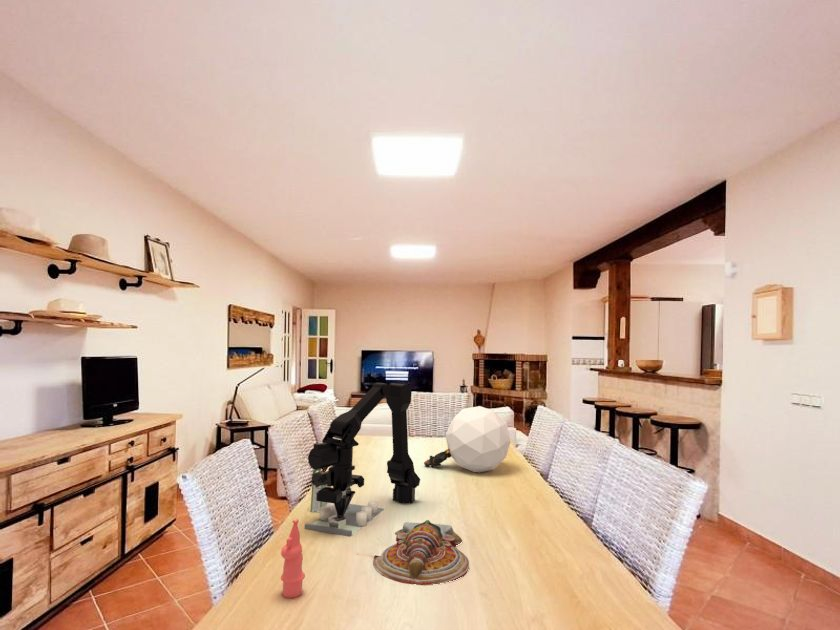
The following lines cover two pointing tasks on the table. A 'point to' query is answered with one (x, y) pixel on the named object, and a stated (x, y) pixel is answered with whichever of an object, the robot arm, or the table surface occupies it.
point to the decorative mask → (423, 555)
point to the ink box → (314, 503)
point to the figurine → (292, 564)
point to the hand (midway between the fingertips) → (340, 518)
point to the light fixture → (475, 440)
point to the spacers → (360, 516)
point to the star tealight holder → (337, 521)
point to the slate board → (350, 522)
